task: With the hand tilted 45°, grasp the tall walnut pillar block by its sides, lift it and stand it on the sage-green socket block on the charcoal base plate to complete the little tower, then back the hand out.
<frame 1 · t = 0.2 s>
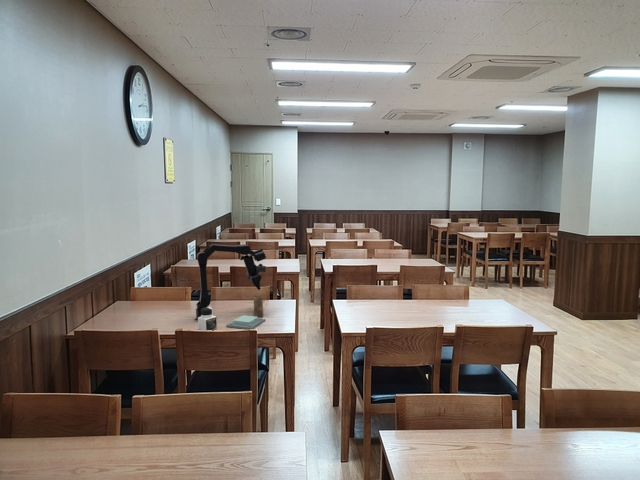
hand: (257, 288, 269), 15 cm above the table, tool tilted 15°, fingers open, 9 cm apart
base plate: (246, 324, 249), on the table
medicine bottle: (207, 329, 241), on the table
walnut pillar: (258, 316, 263), on the table
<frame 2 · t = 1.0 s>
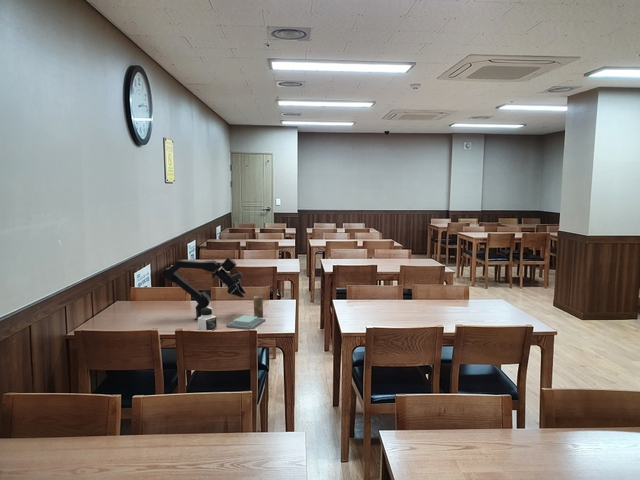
hand: (244, 295, 260), 13 cm above the table, tool tilted 45°, fingers open, 9 cm apart
nothing on the table moved.
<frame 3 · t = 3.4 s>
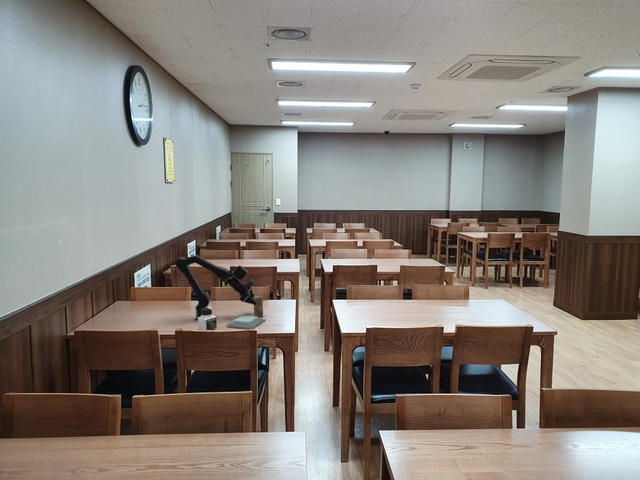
hand: (256, 302, 261), 9 cm above the table, tool tilted 45°, fingers open, 9 cm apart
nothing on the table moved.
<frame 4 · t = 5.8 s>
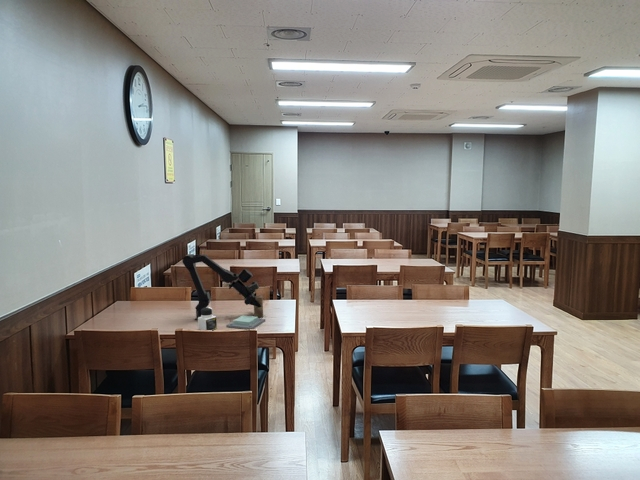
hand: (260, 305, 262), 7 cm above the table, tool tilted 45°, fingers closed on walnut pillar, 5 cm apart
walnut pillar: (258, 316, 263), on the table, touching gripper
everything else where it was.
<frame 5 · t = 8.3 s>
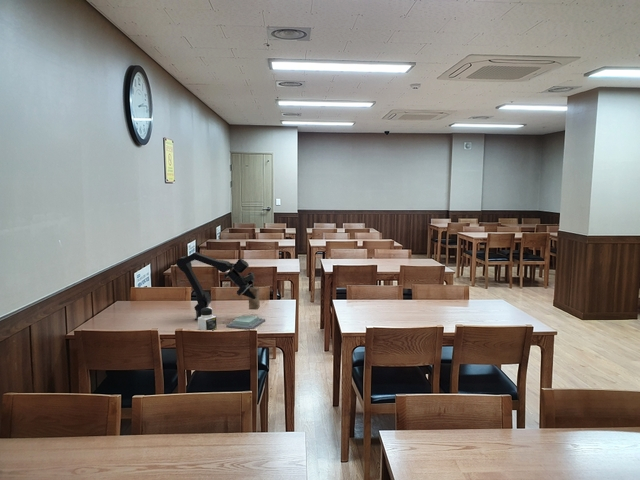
hand: (256, 297, 254), 13 cm above the table, tool tilted 45°, fingers closed on walnut pillar, 5 cm apart
walnut pillar: (254, 308, 256), point 7 cm above the table, touching gripper
everything else where it was.
when the fingers open (11 cm above the table, at t = 11.3 s): walnut pillar drops 1 cm, resting on base plate.
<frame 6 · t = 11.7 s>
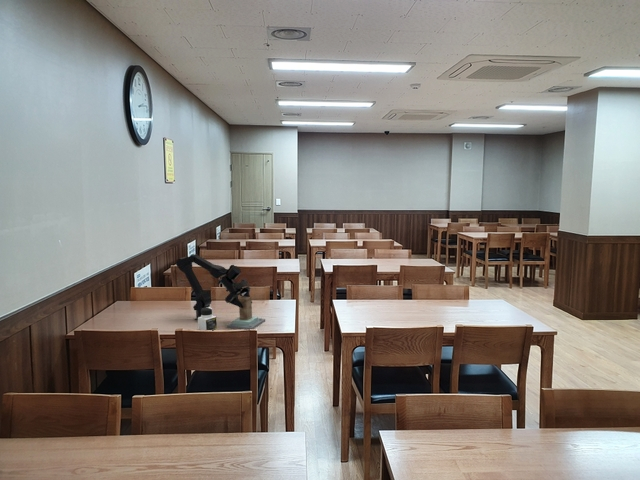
hand: (247, 305, 247), 11 cm above the table, tool tilted 45°, fingers open, 9 cm apart
walnut pillar: (245, 318, 248), point 3 cm above the table, touching base plate
everything else where it was.
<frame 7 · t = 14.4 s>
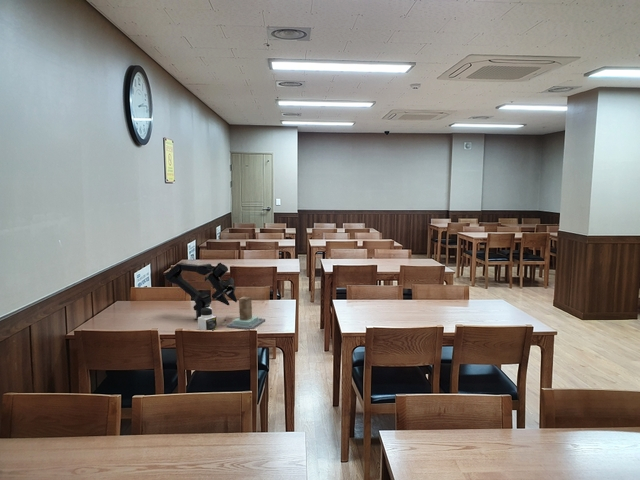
hand: (232, 303, 251), 11 cm above the table, tool tilted 40°, fingers open, 9 cm apart
nothing on the table moved.
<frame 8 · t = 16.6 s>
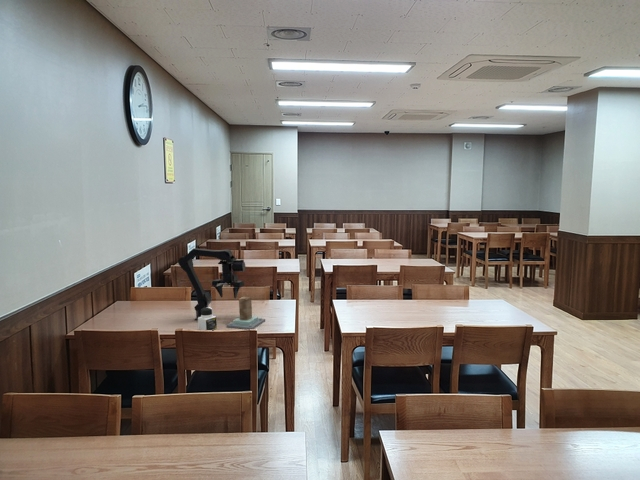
hand: (228, 297, 256), 13 cm above the table, tool pointing down, fingers open, 9 cm apart
nothing on the table moved.
at the end: walnut pillar 0.0 cm off-centre on the base plate, point 3.2 cm above the base plate's base; walnut pillar tilted 0°; the gripper is holding nothing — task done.
